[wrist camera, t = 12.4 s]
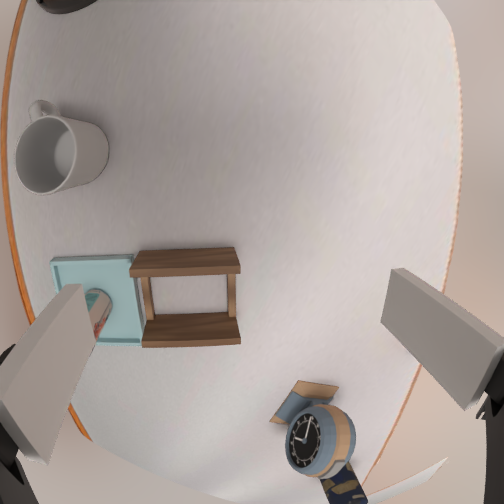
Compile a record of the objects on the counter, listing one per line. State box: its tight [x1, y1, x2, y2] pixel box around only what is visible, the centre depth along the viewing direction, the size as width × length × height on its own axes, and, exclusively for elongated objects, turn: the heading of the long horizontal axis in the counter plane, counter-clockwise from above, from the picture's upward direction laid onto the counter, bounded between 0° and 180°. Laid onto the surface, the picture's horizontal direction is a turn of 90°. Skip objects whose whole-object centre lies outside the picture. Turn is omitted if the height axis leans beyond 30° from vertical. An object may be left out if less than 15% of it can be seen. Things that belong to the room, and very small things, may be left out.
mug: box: [14, 100, 109, 195], centre depth 28 cm, size 12×8×11 cm
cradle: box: [129, 247, 241, 348], centre depth 38 cm, size 11×13×7 cm
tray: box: [49, 255, 144, 346], centre depth 39 cm, size 14×13×2 cm
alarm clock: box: [270, 380, 356, 479], centre depth 45 cm, size 14×10×18 cm
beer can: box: [84, 289, 112, 357], centre depth 34 cm, size 5×5×12 cm
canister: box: [320, 462, 368, 504], centre depth 57 cm, size 10×10×18 cm
